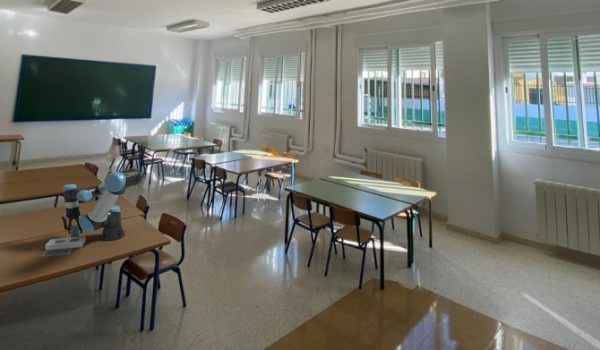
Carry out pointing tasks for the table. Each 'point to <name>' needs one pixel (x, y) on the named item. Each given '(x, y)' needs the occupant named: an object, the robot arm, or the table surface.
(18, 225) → the table surface
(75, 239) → the power strip
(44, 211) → the table surface
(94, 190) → the robot arm
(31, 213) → the table surface
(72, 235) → the block
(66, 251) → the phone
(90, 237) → the table surface
